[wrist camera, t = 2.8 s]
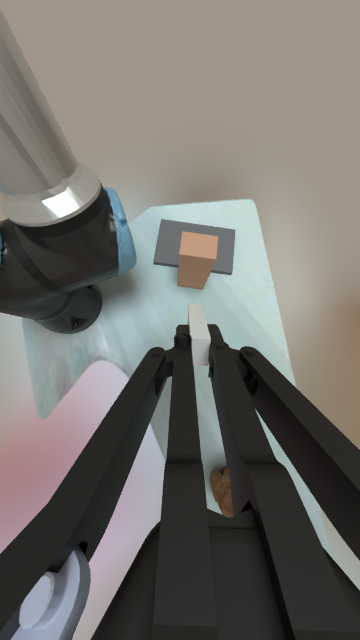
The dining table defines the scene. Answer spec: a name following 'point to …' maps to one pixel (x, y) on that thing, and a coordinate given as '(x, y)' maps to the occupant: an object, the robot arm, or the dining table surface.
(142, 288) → the dining table surface
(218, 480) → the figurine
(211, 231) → the rubber mat
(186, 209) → the dining table surface
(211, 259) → the tall block
